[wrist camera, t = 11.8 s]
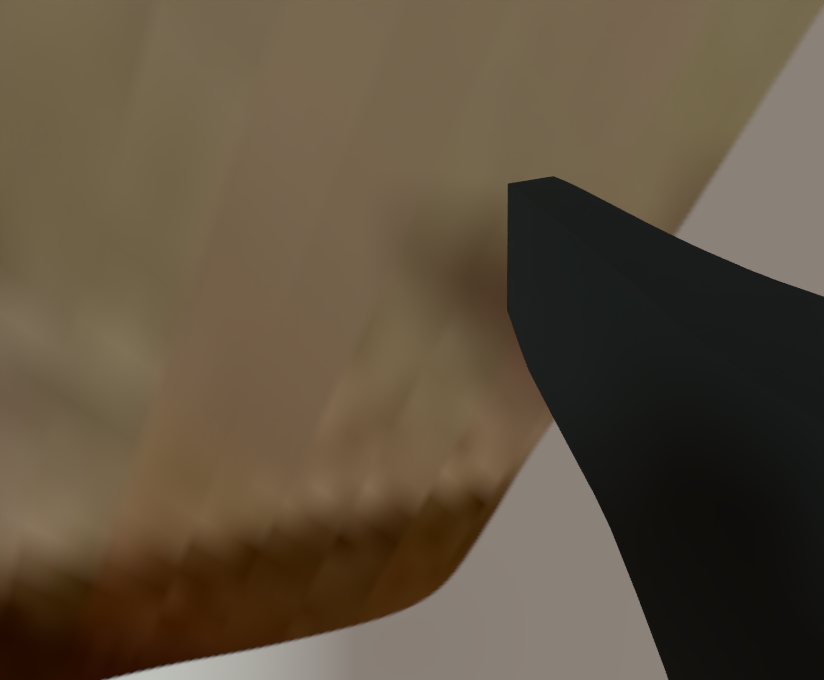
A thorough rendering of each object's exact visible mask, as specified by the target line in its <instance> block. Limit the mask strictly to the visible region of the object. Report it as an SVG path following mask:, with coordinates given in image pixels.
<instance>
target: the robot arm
mask: <svg viewBox="0 0 824 680" xmlns="http://www.w3.org/2000/svg"><path fill="white" fill-rule="evenodd" d="M507 311H508V314H509V317H510V319H511V322H512V325H513V328H514V331H515V334H516V337H517V340H518V343H519V345H520V348H521V351H522V353H523V356H524V359H525V361H526V364H527V367H528V369H529V371H530V373H531V375H532V377H533V379H534V381H535V383H536V385H537V387H538V389H539V391H540V393H541V395H542V397H543V399H544V401H545V402H546V404H547V406H548V408H549V410H550V412H551V414H552V416H553V418H554V420H555V421H556V423H557V425H558V427H559V429H560V431H561V433H562V434H563V437H564V438H565V440H566V442H567V444H568V446H569V448H570V450H571V451H572V453H573V455H574V457H575V459H576V461H577V463H578V465H579V467H580V468H581V470H582V472H583V474H584V476H585V478H586V480H587V482H588V484H589V485H590V487H591V489H592V491H593V493H594V495H595V497H596V499H597V501H598V503H599V505H600V507H601V509H602V511H603V513H604V515H605V518H606V520H607V522H608V524H609V526H610V528H611V531H612V533H613V535H614V538H615V541H616V543H617V546H618V548H619V551H620V553H621V556H622V558H623V561H624V563H625V566H626V568H627V571H628V573H629V576H630V578H631V581H632V583H633V586H634V588H635V591H636V593H637V596H638V598H639V601H640V604H641V607H642V609H643V612H644V615H645V617H646V620H647V623H648V625H649V628H650V631H651V633H652V636H653V639H654V641H655V644H656V647H657V649H658V652H659V655H660V657H661V660H662V663H663V665H664V668H665V671H666V674H667V677H668V680H824V297H823V296H820V295H817V294H814V293H811V292H809V291H806V290H803V289H800V288H797V287H794V286H791V285H788V284H785V283H782V282H780V281H777V280H774V279H771V278H769V277H766V276H764V275H761V274H759V273H756V272H753V271H751V270H748V269H746V268H744V267H741V266H739V265H737V264H735V263H732V262H730V261H728V260H725V259H723V258H721V257H718V256H716V255H714V254H711V253H709V252H707V251H704V250H702V249H700V248H698V247H696V246H693V245H691V244H689V243H687V242H685V241H683V240H681V239H679V238H677V237H675V236H673V235H670V234H668V233H666V232H664V231H662V230H660V229H658V228H656V227H654V226H652V225H650V224H648V223H646V222H644V221H642V220H641V219H639V218H637V217H635V216H633V215H631V214H629V213H627V212H625V211H623V210H621V209H619V208H617V207H615V206H614V205H612V204H610V203H608V202H606V201H604V200H602V199H600V198H598V197H596V196H594V195H592V194H591V193H589V192H587V191H585V190H583V189H581V188H579V187H577V186H575V185H573V184H570V183H568V182H566V181H564V180H561V179H559V178H556V177H554V176H552V177H546V178H540V179H534V180H528V181H522V182H516V183H509V184H508V264H507Z"/></svg>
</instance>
